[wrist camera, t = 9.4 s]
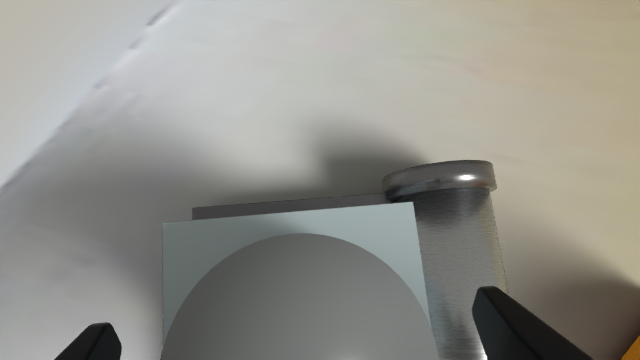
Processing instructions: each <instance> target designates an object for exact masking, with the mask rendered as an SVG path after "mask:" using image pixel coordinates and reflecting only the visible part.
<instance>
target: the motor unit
mask: <svg viewBox="0 0 640 360" xmlns="http://www.w3.org/2000/svg"><path fill="white" fill-rule="evenodd" d="M382 184H383V192H384V193H381V194H368V195H355V196H342V197H328V198H315V199H302V200H289V201H276V202H262V203H249V204H236V205H223V206H210V207H197V208H192V213H193V220H202V219H214V218H226V217H238V216H250V215H262V214H273V213H285V212H297V211H309V210H321V209H333V208H345V207H357V206H369V205H381V204H393V203H405V202H413V206H414V212H415V219H416V226H417V233H418V240H419V247H420V254H421V261H422V268H423V274H424V281H425V288H426V295H427V302H428V309H429V316H430V323H431V330H432V333H433V336H434V339H435V343H436V348H437V352H438V357H439V360H487V357H486V354H485V351H484V348H483V345H482V343H481V340H480V337H479V334H478V331H477V328H476V325H475V322H474V319H473V316H472V306H473V302H474V299H475V296H476V292H477V290H478V288H479V287H484V286H496V287H498V288H499V289H501V290H502V291H503V292H505V293H506V294H507V295H509V294H508V288H507V283H506V277H505V272H504V266H503V261H502V255H501V250H500V244H499V239H498V234H497V228H496V223H495V217H494V212H493V206H492V201H491V195H490V192H492V191H494V190H496V189H497V186H496V180H495V175H494V170H493V165H492V163H490V162H487V161H481V160H457V161H446V162H438V163H432V164H426V165H421V166H416V167H411V168H407V169H404V170H400V171H397V172H394V173H392V174H390V175H388V176H386V177H384V178H383V179H382Z"/></svg>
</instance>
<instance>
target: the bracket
mask: <svg viewBox="0 0 640 360" xmlns="http://www.w3.org/2000/svg"><path fill="white" fill-rule="evenodd" d="M621 360H640V335H639V337H638V338H637V339H636V341H635V342H634V343H633V344H632V346H631V347H630V348H629V350H628V351H627V352H626V353H625V355H624V356H623V357H622V359H621Z"/></svg>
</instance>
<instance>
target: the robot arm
mask: <svg viewBox="0 0 640 360" xmlns="http://www.w3.org/2000/svg"><path fill="white" fill-rule="evenodd" d="M472 316H473V319H474V322H475V325H476V328H477V331H478V334H479V337H480V340H481V343H482V345H483V348H484V351H485V354H486V357H487V360H594V359H593V358H591V357H590V356H589V355H587V354H586V353H585V352H583V351H582V350H581V349H579V348H578V347H577V346H575V345H574V344H573V343H571V342H570V341H569V340H567V339H566V338H565V337H563V336H562V335H561V334H559V333H558V332H557V331H555V330H554V329H553V328H551V327H550V326H549V325H547V324H546V323H545V322H543V321H542V320H541V319H539V318H538V317H537V316H535V315H534V314H533V313H531V312H530V311H529V310H527V309H526V308H525V307H523V306H522V305H521V304H519V303H518V302H517V301H515V300H514V299H513V298H511V297H510V296H509V295H507V294H506V293H505V292H503V291H502V290H501V289H499V288H498V287H496V286H484V287H479V288H478V290H477V292H476V296H475V299H474V302H473V306H472ZM121 349H122V348H121V342H120V340H119V338H118V336H117V334H116V332H115V330H114V328H113V326H112V325H111V324H110V323H107V322H106V323H95V324H92V325H90V326H88V327H87V328H86V329H85V330H84V331H83V332H82V333H81V334H80V335H79V336H78V337H77V338H76V339H75V340H74V341H73V342H72V343H71V344H70V345H69V346H68V347H67V348H66V349H65V350H63V351H62V352H61V353H60V354H59V355H58V356H57V357H56V358H55V359H54V360H120V356H121Z"/></svg>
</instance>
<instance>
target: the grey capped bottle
mask: <svg viewBox="0 0 640 360" xmlns="http://www.w3.org/2000/svg"><path fill="white" fill-rule="evenodd" d="M162 252H163V350H162V354H161V359H160V360H439V357H438V352H437V348H436V343H435V339H434V336H433V333H432V330H431V323H430V316H429V309H428V302H427V295H426V288H425V281H424V274H423V268H422V261H421V254H420V247H419V240H418V233H417V226H416V219H415V212H414V206H413V202H405V203H393V204H381V205H369V206H357V207H345V208H333V209H321V210H309V211H297V212H285V213H273V214H262V215H250V216H238V217H226V218H214V219H202V220H190V221H178V222H166V223H162Z"/></svg>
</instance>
